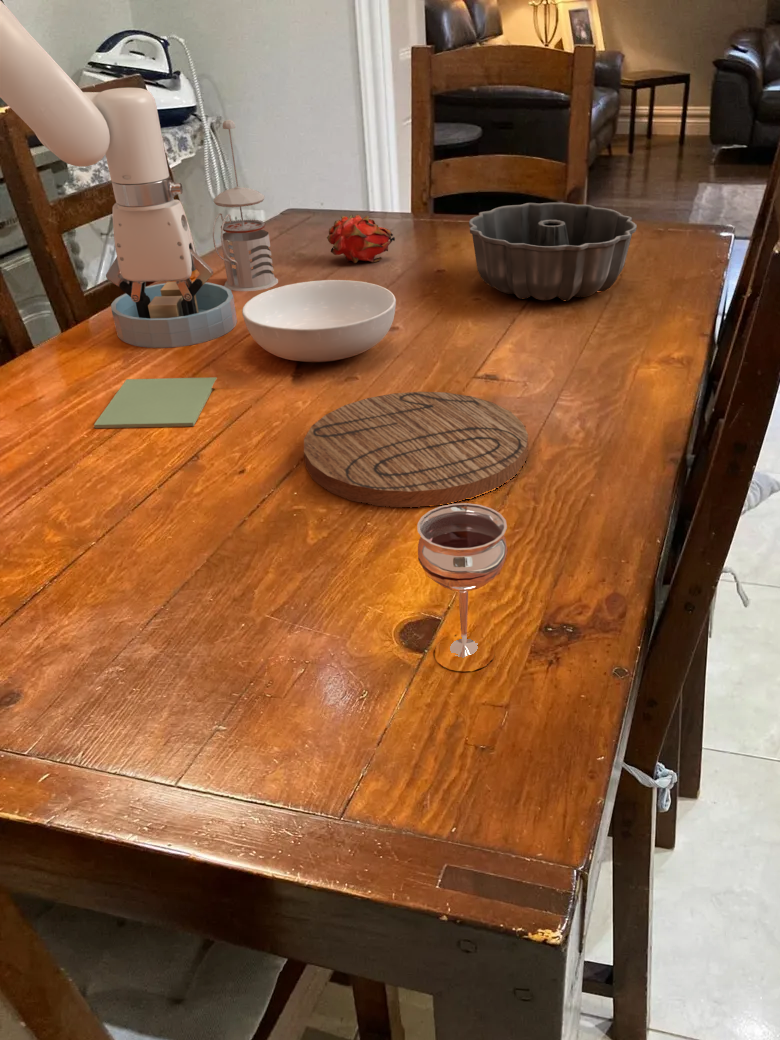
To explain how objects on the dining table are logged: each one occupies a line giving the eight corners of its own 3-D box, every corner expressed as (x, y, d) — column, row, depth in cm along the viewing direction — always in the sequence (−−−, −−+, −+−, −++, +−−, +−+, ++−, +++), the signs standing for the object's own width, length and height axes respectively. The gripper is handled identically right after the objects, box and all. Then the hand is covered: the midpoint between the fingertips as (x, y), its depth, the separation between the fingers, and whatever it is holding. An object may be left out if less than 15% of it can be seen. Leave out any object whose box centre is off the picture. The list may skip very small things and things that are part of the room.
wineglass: (486, 688, 72) (486, 558, 65) (408, 666, 75) (400, 538, 68) (518, 638, 77) (521, 513, 70) (444, 619, 79) (440, 496, 72)
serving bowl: (318, 316, 143) (313, 270, 139) (427, 342, 133) (426, 293, 129) (217, 359, 130) (208, 310, 126) (331, 391, 119) (325, 339, 115)
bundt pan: (665, 289, 150) (673, 224, 144) (537, 324, 138) (539, 255, 132) (560, 253, 168) (562, 194, 162) (438, 281, 156) (436, 219, 150)
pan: (103, 352, 133) (95, 321, 130) (136, 311, 147) (130, 282, 144) (224, 349, 133) (219, 318, 130) (246, 309, 147) (242, 280, 144)
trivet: (272, 436, 109) (270, 421, 108) (457, 390, 119) (457, 376, 118) (362, 532, 91) (361, 515, 90) (572, 468, 101) (573, 452, 100)
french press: (292, 280, 158) (273, 116, 144) (250, 301, 150) (225, 128, 135) (246, 273, 162) (222, 113, 147) (202, 293, 154) (173, 125, 139)
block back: (166, 323, 141) (160, 289, 138) (173, 314, 144) (166, 281, 141) (193, 322, 141) (187, 289, 138) (199, 313, 144) (193, 281, 141)
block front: (154, 339, 135) (147, 305, 132) (161, 330, 138) (154, 296, 135) (182, 339, 135) (175, 304, 132) (188, 329, 138) (182, 295, 135)
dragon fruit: (325, 269, 168) (391, 276, 170) (324, 251, 160) (394, 259, 161) (328, 223, 168) (394, 230, 170) (327, 202, 160) (397, 210, 161)
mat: (94, 428, 112) (93, 424, 112) (127, 382, 124) (126, 379, 123) (193, 426, 112) (193, 422, 112) (217, 380, 123) (217, 377, 123)
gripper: (212, 185, 128) (233, 316, 139) (89, 188, 128) (119, 318, 139) (201, 198, 122) (223, 333, 133) (70, 201, 122) (104, 336, 133)
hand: (170, 324), depth 136 cm, fingers open, 5 cm apart
